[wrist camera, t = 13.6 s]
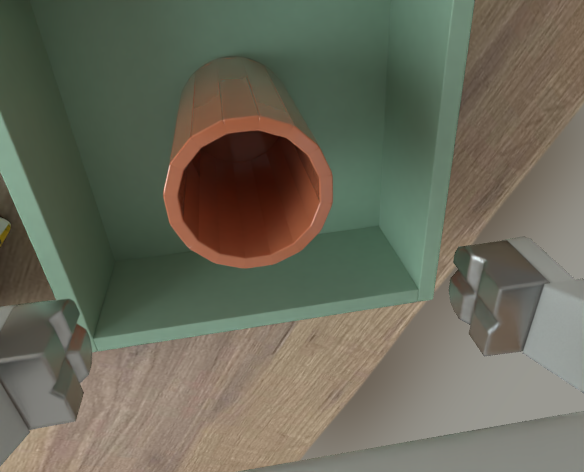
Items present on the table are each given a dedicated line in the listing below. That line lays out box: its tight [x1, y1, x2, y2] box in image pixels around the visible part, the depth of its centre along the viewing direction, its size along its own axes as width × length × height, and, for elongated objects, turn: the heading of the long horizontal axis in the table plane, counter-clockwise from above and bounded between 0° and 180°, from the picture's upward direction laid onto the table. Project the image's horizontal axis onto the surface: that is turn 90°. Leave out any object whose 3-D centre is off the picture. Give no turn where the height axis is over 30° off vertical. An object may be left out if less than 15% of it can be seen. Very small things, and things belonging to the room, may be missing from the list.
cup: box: [163, 56, 333, 269], centre depth 18 cm, size 5×5×9 cm
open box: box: [0, 0, 475, 352], centre depth 20 cm, size 17×17×7 cm
